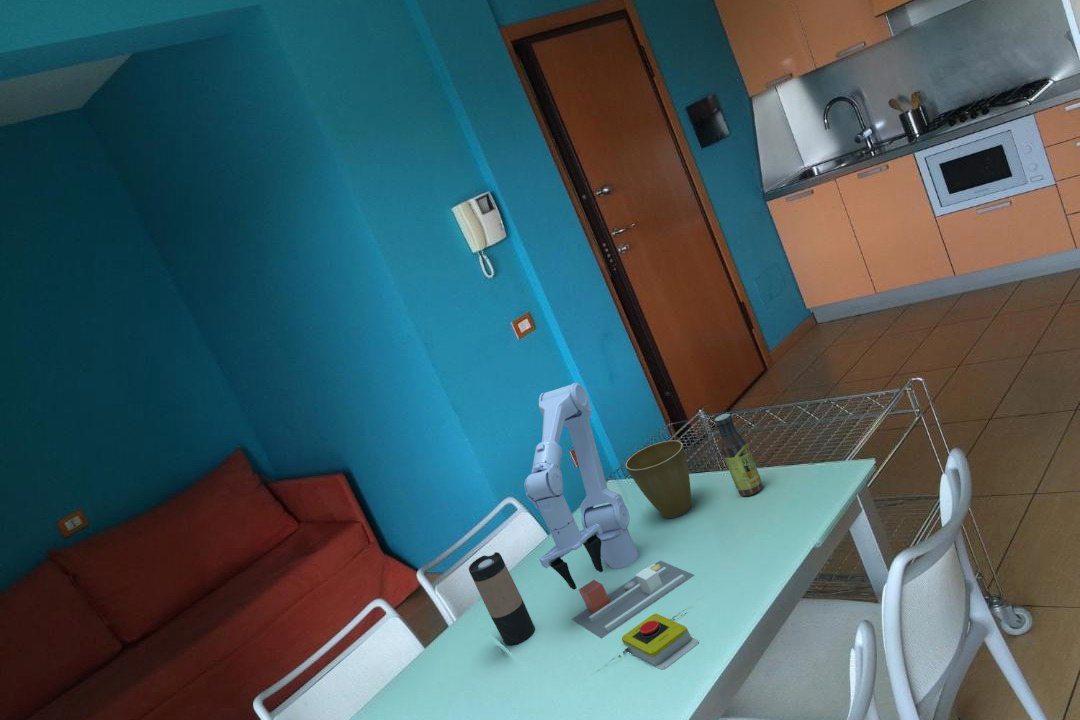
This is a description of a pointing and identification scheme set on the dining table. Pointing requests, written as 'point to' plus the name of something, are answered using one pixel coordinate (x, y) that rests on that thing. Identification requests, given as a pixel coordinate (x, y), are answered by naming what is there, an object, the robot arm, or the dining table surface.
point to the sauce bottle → (738, 457)
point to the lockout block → (594, 596)
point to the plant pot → (663, 477)
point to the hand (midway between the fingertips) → (586, 579)
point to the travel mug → (502, 599)
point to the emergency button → (659, 641)
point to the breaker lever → (649, 581)
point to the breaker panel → (630, 600)
